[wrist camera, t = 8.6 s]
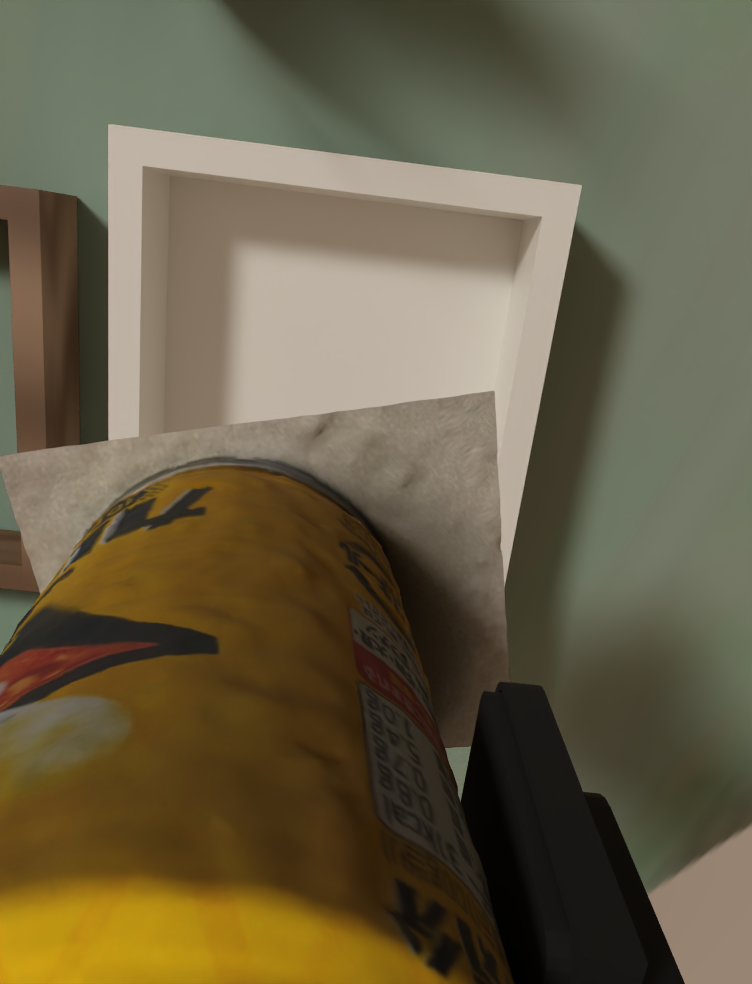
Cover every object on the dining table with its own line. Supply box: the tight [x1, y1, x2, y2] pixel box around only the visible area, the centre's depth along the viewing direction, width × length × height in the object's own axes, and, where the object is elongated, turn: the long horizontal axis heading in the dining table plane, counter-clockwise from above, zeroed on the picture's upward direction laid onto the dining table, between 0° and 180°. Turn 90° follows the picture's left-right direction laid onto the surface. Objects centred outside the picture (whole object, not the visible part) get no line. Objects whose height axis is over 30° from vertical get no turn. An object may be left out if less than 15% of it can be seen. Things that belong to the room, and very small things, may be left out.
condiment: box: [0, 391, 515, 984], centre depth 8 cm, size 7×8×12 cm
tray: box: [108, 124, 582, 587], centre depth 26 cm, size 18×14×4 cm
